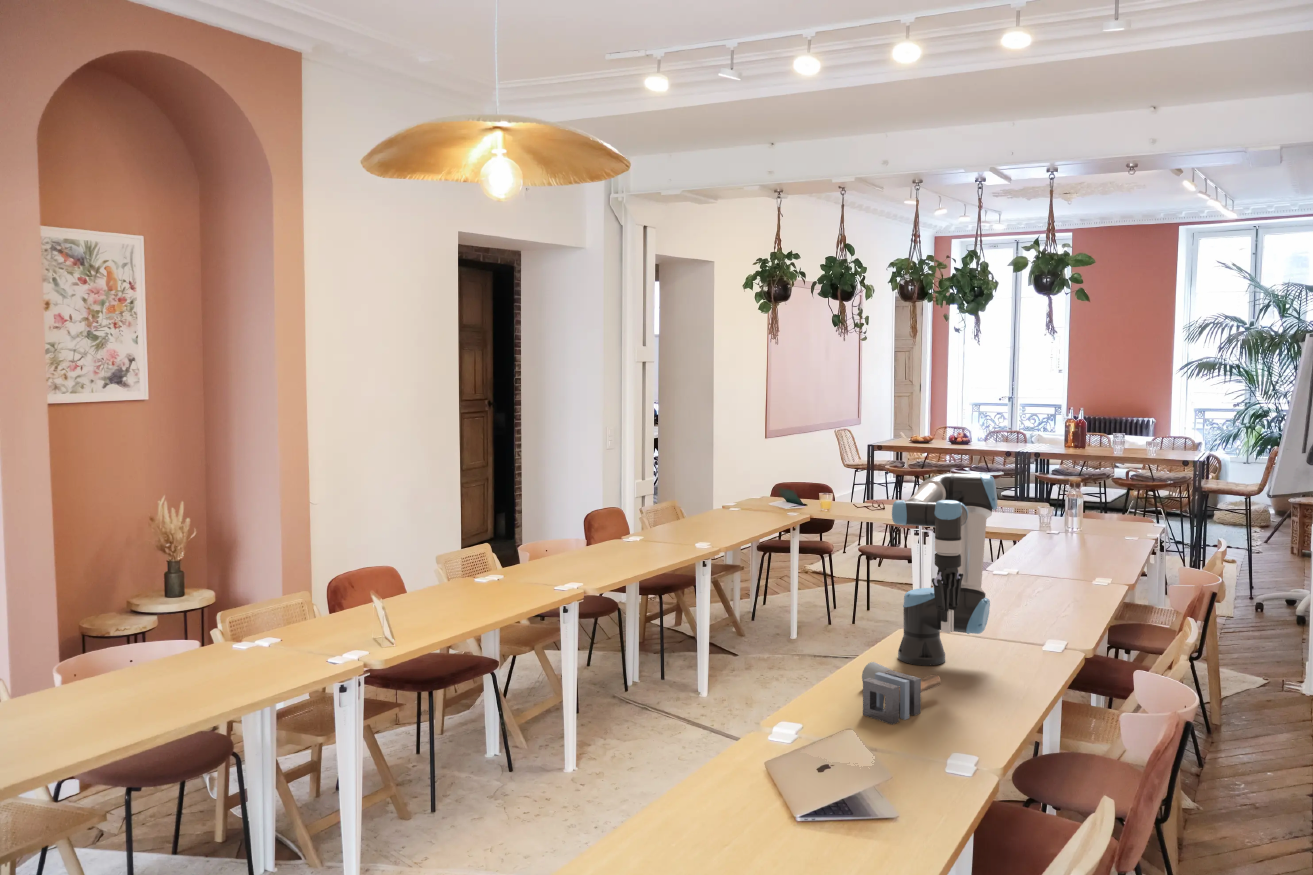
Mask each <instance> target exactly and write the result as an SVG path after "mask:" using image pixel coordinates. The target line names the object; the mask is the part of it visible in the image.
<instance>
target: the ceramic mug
mask: <svg viewBox="0 0 1313 875" xmlns="http://www.w3.org/2000/svg"><path fill="white" fill-rule="evenodd" d="M890 670H892V669H891V668H890V667H887V666H884V665H883V664H879V663H878V662H875V661H871V662H868V663H867V664H866V665H865V666H864V667H863V670H862V675H861V679H862V682H863V680H865V679H868V678H872V679H875V673H878V672H880V673H884V674H885V672H887V671H890Z"/></svg>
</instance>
